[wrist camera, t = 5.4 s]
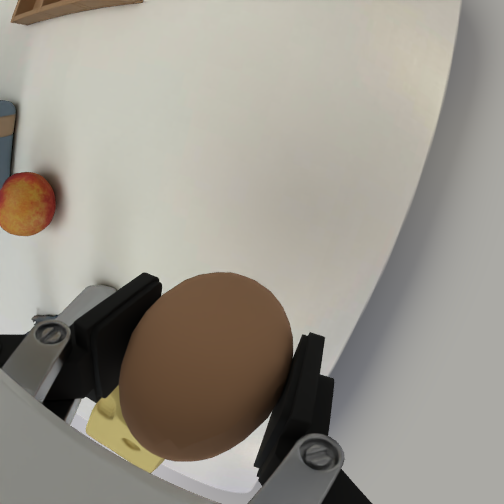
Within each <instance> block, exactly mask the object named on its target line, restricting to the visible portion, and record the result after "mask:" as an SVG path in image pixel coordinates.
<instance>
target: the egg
mask: <svg viewBox="0 0 504 504" xmlns="http://www.w3.org/2000/svg"><path fill="white" fill-rule="evenodd" d="M292 358H293V336H292V332H291V327H290V323H289V321H288V318H287V316H286V313H285V311H284V309H283V307H282V305H281V304H280V302H279V301H278V300H277V299H276V297H275V296H274V295H273V294H272V293H271V291H269V290H268V289H266V288H265V287H264V286H262V285H261V284H259V283H258V282H257V281H255V280H253V279H250V278H248V277H245V276H242V275H239V274H235V273H224V272H216V273H209V274H202V275H198V276H195V277H192V278H189V279H187V280H184V281H183V282H181V283H180V284H178V285H177V286H175V287H174V288H172V289H171V290H169V291H168V292H166V293H165V294H163V295H162V296H161V297H160V298H159V299H158V300H157V301H156V302H155V303H154V304H153V305H152V306H151V307H150V308H149V309H148V310H147V311H146V313H145V314H144V316H143V317H142V319H141V320H140V322H139V323H138V325H137V326H136V328H135V329H134V331H133V333H132V334H131V337H130V340H129V343H128V346H127V349H126V352H125V355H124V358H123V361H122V365H121V370H120V377H119V401H120V407H121V412H122V416H123V418H124V420H125V422H126V424H127V426H128V428H129V430H130V432H131V434H132V435H133V437H134V438H135V439H136V440H137V441H138V443H139V444H140V445H141V446H142V447H144V448H145V449H146V450H148V451H149V452H150V453H152V454H154V455H156V456H159V457H161V458H163V459H167V460H172V461H199V460H204V459H208V458H212V457H215V456H217V455H219V454H221V453H223V452H225V451H227V450H229V449H231V448H233V447H234V446H236V445H237V444H239V443H240V442H242V441H243V440H244V439H246V438H247V437H248V436H249V435H250V434H251V433H252V432H253V431H254V430H255V429H256V428H257V427H259V426H260V425H261V424H262V423H263V422H264V421H265V420H266V419H267V418H268V417H269V415H270V413H271V412H272V410H273V409H274V407H275V405H276V404H277V402H278V401H279V399H280V397H281V395H282V392H283V389H284V387H285V384H286V381H287V378H288V375H289V372H290V369H291V364H292Z"/></svg>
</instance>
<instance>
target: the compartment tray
mask: <svg viewBox="0 0 504 504" xmlns="http://www.w3.org/2000/svg"><path fill="white" fill-rule="evenodd" d="M142 2H143V0H18V2H17V5H16V8H15V11H14V13H13V16H12V19H11V23H17V24H23V25H30V24H33V23H36V22H40V21H43V20H47V19H51V18H55V17H59V16H63V15H67V14H71V13H76V12H81V11H86V10H92V9H97V8H103V7H110V6H117V5H125V4H134V3H142Z"/></svg>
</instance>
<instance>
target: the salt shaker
mask: <svg viewBox="0 0 504 504" xmlns="http://www.w3.org/2000/svg"><path fill="white" fill-rule="evenodd" d="M115 292H116V290H115V288H112V287H108V286H105V285H95V286H88V287H86V288H85V289H84V290H83V291H82V292H81V293H80V294H79V295H78V296H77V297H76V298H75V299H74V300H73V301H72V302H71V303H70V304H69V305H68V306H67V307H66V308H65V309H64V310H63V311H62V313H61V314H60V315H59V316H58V317H57V318H56V319H55V320H59V321H62V322H64V323H65V324H66V325H68V326H70V325H72V324H73V323H74V321H75V320H77V319H78V318H79V317H81V316H82V315H84V314H85V313H86V312H88V311H89V310H90V309H92V308H93V307H95V306H96V305H98V304H99V303H100V302H102V301H103V300H105V299H106V298H107V297H109V296H110V295H112V294H113V293H115Z"/></svg>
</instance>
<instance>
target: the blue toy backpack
mask: <svg viewBox="0 0 504 504" xmlns="http://www.w3.org/2000/svg"><path fill="white" fill-rule="evenodd" d="M15 113H16V109H15V106H14V105H13V104H12V103H11V102H10V101H5V100H0V190H1V188H2V187H3V184H4V182H5V180H6V179H7V178H8V177H10V163H11V150H12V140H13V134H12V133H13V131H14V124H15V117H16V114H15Z"/></svg>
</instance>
